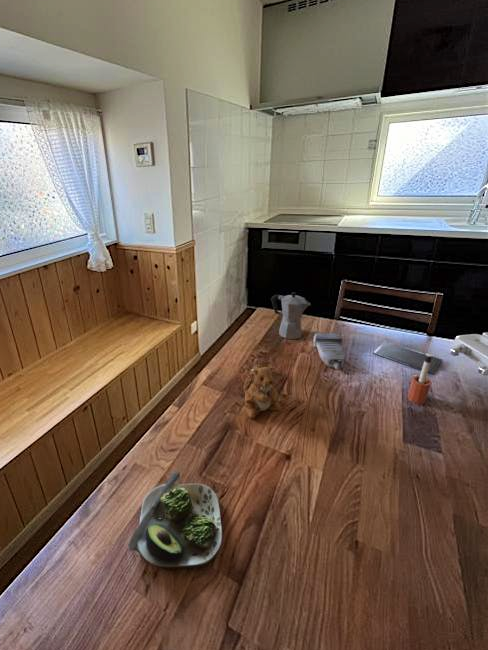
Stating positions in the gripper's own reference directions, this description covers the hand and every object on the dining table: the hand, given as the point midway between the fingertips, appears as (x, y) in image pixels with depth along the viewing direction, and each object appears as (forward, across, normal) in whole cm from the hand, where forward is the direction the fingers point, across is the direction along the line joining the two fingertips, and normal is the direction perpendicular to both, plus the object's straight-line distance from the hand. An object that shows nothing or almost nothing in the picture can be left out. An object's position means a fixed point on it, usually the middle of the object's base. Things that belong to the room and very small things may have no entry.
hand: (465, 361), depth 92 cm
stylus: (+11, 0, -12) cm, 16 cm away
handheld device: (+24, +26, -12) cm, 37 cm away
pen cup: (+11, 0, -12) cm, 17 cm away
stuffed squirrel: (+56, +7, -12) cm, 58 cm away
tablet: (0, +20, -12) cm, 23 cm away
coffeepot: (+33, +44, -12) cm, 56 cm away
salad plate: (+82, -27, -12) cm, 87 cm away
